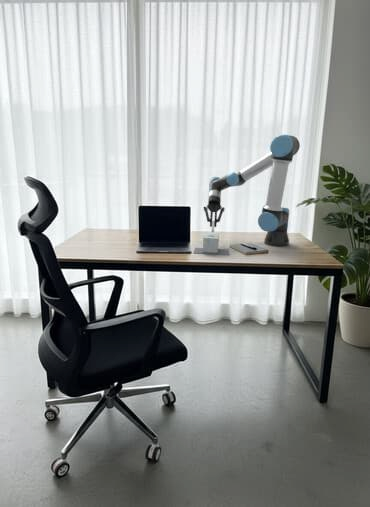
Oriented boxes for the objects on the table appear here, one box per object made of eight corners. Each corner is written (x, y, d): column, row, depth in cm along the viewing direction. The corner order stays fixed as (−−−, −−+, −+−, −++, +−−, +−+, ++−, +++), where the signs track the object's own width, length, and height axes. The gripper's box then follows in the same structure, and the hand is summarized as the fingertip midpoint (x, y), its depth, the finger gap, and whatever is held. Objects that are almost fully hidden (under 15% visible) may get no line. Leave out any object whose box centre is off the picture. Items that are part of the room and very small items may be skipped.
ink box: (218, 248, 216) (217, 253, 205) (204, 247, 217) (202, 252, 206) (219, 233, 214) (218, 238, 202) (204, 233, 214) (202, 238, 203)
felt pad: (229, 249, 215) (229, 249, 215) (229, 255, 203) (229, 254, 203) (195, 248, 217) (195, 247, 217) (193, 253, 205) (193, 252, 205)
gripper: (224, 203, 230) (223, 235, 218) (204, 202, 231) (201, 234, 220) (225, 195, 223) (224, 228, 212) (203, 194, 225) (201, 227, 213)
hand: (212, 231), depth 216 cm, fingers closed
